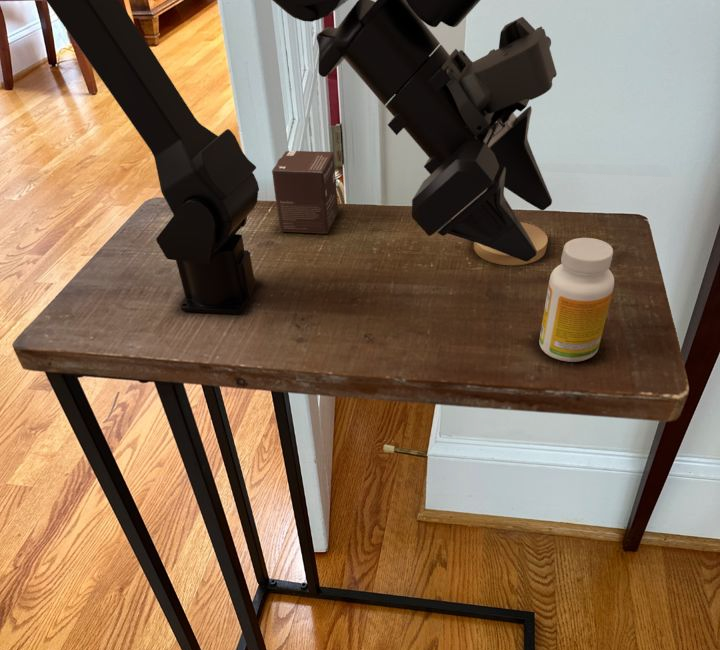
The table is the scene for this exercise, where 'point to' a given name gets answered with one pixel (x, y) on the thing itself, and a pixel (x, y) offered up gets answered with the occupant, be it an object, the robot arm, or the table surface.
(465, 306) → the table surface
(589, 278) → the supplement bottle
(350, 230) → the table surface
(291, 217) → the box
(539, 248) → the coaster
